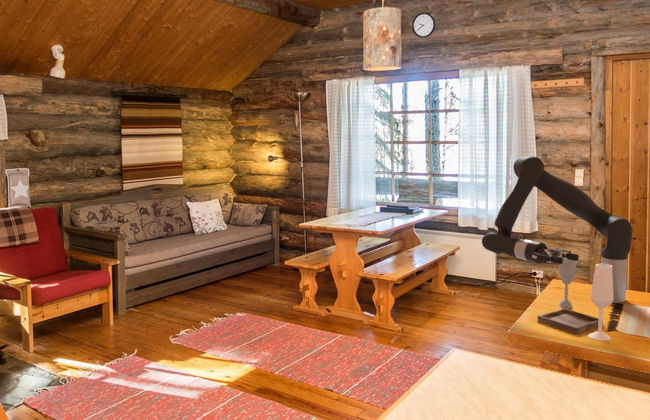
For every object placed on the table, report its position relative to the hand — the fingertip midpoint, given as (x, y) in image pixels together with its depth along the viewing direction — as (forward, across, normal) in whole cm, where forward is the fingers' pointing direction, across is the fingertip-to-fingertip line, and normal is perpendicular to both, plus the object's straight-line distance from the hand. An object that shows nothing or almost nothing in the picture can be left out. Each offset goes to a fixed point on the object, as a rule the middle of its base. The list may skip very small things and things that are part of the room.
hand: (570, 259), depth 194 cm
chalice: (-14, +19, +24) cm, 34 cm away
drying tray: (-1, +3, +24) cm, 24 cm away
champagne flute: (+12, 0, +24) cm, 27 cm away
